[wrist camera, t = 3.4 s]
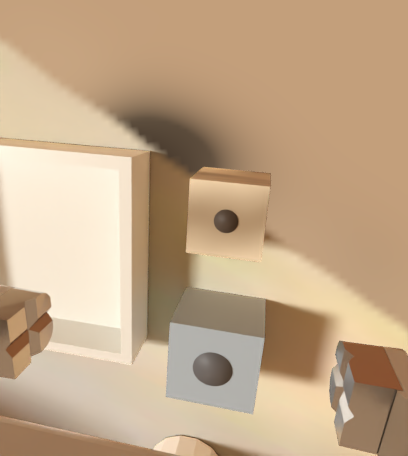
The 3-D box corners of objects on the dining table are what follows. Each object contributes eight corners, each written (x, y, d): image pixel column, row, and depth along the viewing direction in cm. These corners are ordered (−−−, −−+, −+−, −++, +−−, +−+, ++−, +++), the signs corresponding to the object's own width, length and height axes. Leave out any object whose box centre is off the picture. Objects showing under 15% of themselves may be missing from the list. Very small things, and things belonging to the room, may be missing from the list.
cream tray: (147, 336, 29) (131, 365, 26) (-17, 309, 32) (-50, 332, 28) (150, 151, 25) (131, 157, 21) (-44, 133, 27) (-88, 137, 23)
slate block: (255, 364, 29) (253, 414, 24) (182, 351, 29) (165, 397, 25) (265, 298, 27) (264, 338, 22) (186, 286, 27) (169, 322, 23)
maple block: (262, 236, 25) (260, 262, 21) (199, 229, 26) (185, 252, 22) (270, 173, 24) (270, 186, 19) (203, 166, 24) (189, 178, 20)
